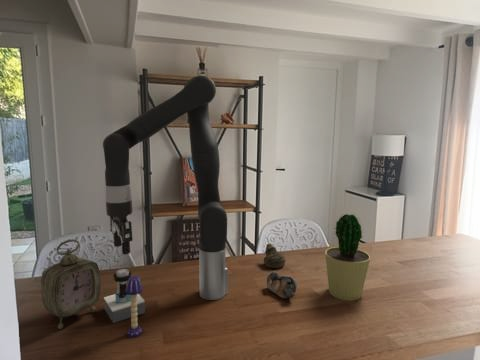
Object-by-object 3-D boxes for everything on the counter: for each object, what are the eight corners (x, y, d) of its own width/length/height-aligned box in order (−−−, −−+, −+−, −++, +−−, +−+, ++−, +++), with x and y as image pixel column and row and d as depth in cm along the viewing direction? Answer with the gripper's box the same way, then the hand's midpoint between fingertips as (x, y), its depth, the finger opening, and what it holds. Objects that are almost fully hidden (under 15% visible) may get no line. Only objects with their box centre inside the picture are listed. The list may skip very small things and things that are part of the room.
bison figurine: (267, 286, 125) (259, 297, 116) (268, 268, 124) (260, 277, 115) (299, 292, 121) (293, 304, 111) (300, 274, 120) (294, 284, 111)
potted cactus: (369, 288, 124) (374, 210, 119) (365, 307, 110) (372, 220, 105) (327, 280, 130) (331, 206, 126) (319, 297, 116) (323, 214, 112)
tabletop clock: (57, 334, 94) (51, 250, 90) (40, 324, 98) (33, 243, 95) (102, 311, 106) (98, 236, 102) (85, 303, 111) (80, 231, 107)
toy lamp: (129, 328, 97) (127, 274, 94) (145, 327, 97) (143, 274, 95) (125, 338, 92) (122, 282, 90) (142, 337, 92) (140, 281, 90)
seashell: (282, 245, 151) (260, 246, 150) (288, 239, 141) (265, 239, 139) (284, 271, 147) (262, 271, 145) (291, 266, 136) (267, 266, 135)
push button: (136, 295, 108) (135, 266, 107) (137, 303, 103) (136, 272, 102) (114, 298, 106) (113, 269, 104) (114, 306, 101) (113, 275, 100)
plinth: (134, 299, 113) (134, 288, 113) (145, 312, 105) (144, 301, 105) (104, 308, 107) (103, 297, 107) (113, 323, 99) (112, 310, 99)
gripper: (139, 201, 97) (141, 253, 100) (123, 194, 109) (126, 241, 111) (113, 205, 93) (116, 259, 95) (100, 197, 104) (103, 246, 107)
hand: (121, 249), depth 103 cm, fingers open, 8 cm apart
